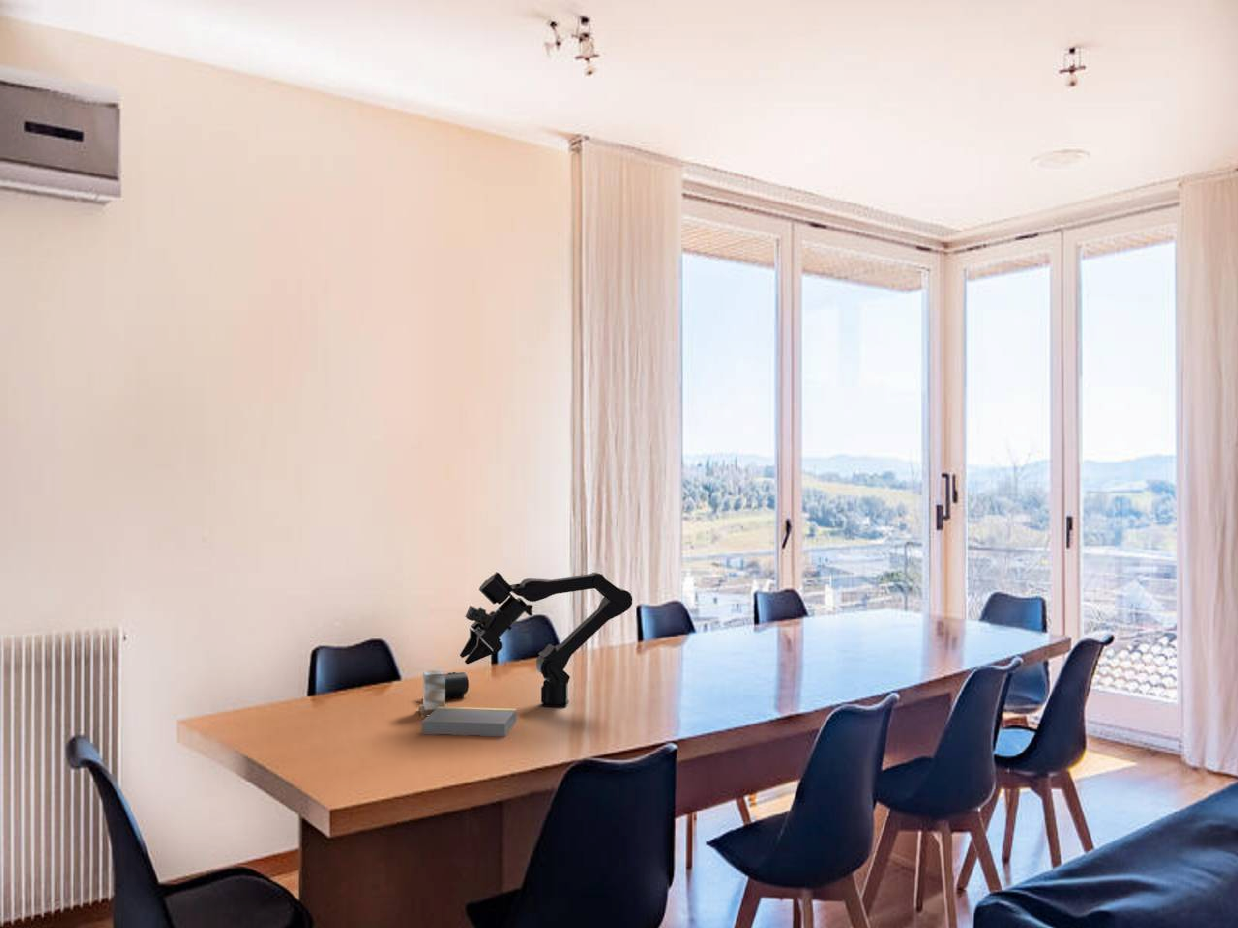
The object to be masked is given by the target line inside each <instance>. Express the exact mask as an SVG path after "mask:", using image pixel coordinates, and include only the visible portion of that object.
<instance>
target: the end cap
mask: <svg viewBox="0 0 1238 928" xmlns="http://www.w3.org/2000/svg"><path fill="white" fill-rule="evenodd" d="M469 689H470V681H469V677H468V675H467V673H466V672H464V671H463V672H457V671H453V672H451V671H449V672H447V673H445V700H446V699H453V697H454V698H460V696H461V697H464V696H465V695H466V694H468V692H469Z"/></svg>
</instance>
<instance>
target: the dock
mask: <svg viewBox="0 0 1238 928" xmlns="http://www.w3.org/2000/svg"><path fill="white" fill-rule="evenodd" d="M516 722H517V708H500V707H499V708H498V707H494V708H493V707H466V706H465V707H464V706H462V707H461V706H448V707H438V708H437V709H436V710H435V711H434V712H432V713H431V714H430V715H429V716H428V717H424V719H423V720H422V721H421V734H422V733H424V734H423V735H437V734H452V735H451V736H468V735H480V736H479V737H500V738H501V737H502V738H503V737H504V738H505V737H506V735H507V734H508V733H509V732H510V730H511V727H512V728H513V726H514V725H515V724H516Z"/></svg>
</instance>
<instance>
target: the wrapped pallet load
mask: <svg viewBox="0 0 1238 928" xmlns="http://www.w3.org/2000/svg"><path fill="white" fill-rule="evenodd" d="M422 673H423V674H422V675H423V678H422V679H423V681H422V688H423V689H422V693H423V695H422V703H421V704H418V712H419V711H420V712H419V714H420V713H421V714H420V716H427V715H430V714H431V713H432V712H434V711H435V710H436V709H437V708H438V707H449V706H448V705H447V702H446V701H445V700H446V699H445V674H446V672H445V671H444V670H443V669H434V670H432V669H431V670H423V672H422Z"/></svg>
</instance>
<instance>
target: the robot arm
mask: <svg viewBox="0 0 1238 928" xmlns="http://www.w3.org/2000/svg"><path fill="white" fill-rule="evenodd" d="M591 589H595V591H597V592H598V593H599V594H600V595H602V596H603V597H602V599H601V601H600V603H599V604H598V607H597V608H596V609H595V610H594V611H593V612H592V613H591V614H590V615H589V616H588V617H587V618H586V619H585V620H584V621H583V622H582V623H580V624H579V625H578V626H577V627H576V628H575V629H574V630H573V631H572V632H571V633H570V634H569V635H567V636H566V637H565V638H564V640H563V641H561V642H560V643H558V644H556V645H555V646H554V645H553V644H551V643H549V644H548V645H546V647H545V648H544V649H543V650H542V651H540V652H538V656H537V658H536V660H535V668H536V669H537V671H538V672H539V673H540V674H541V675H542V677H543V679H544V680H543V681H542V683H543V685H542V686H541V688H540V703H541V706H542V707H556V708H557V707H559V708H560V707H563V708H566V707H567V705H568V704H569V699H568V695H569V694H568V692H569V690H568V688H569V687H568V685H569V681H570V679H571V676H570V675H569V674H568V673H567V672H566V671H565V670H564V669H565V667H566V666H567V664H568V662H569V660H570V659H571V657H572V655H574V653H575V652H577V650H579V649H580V648H581V647H582V646H583V645H584V644H586V642H587V641H588V640H589V639H590V638H591V637H592V636H594V634H596V633H597V632H598V631H599V630H600V629H601V628H602V627H603V626H604V625H605V624H607V622H608V621H610V620H612V619H614V618H616V617H618V616H620V615H622V614H623V613H625V612H626V611H628V610H629V609H630V608H631V607H632V605H633V596H632V594H631V593H630V592H629V591H628V590H625V589H622V588H620V587H618V586H616V585H615V584H614V583H613V582H610V581H609V580H608V579H607V578H605V576H604V575H603V574H601V573H598V572H592V573H590V574H589V573H588V574H581V575H576V576H567V577H561V578H553V579H548V578H535V577H534V578H533V577H532V578H531V577H529V578H524V579H522V580H521V582H519V583H513V584H509V583H508V582H507V580H505V578H503V576H502V575H501V573H500V572H495V573H494V574H492V576H490V577H488V579H485V580H484V581H483V583H481V585H480V586H479V588H478V591H479V592H480V593H481V594H482V595H483V596H484V597H485V598H487V600H488V601H490V603H492V605H496V604H498V605H500V606H499V607H498V608H497V609H496V610H492V611H490V612H489V613H487V609H485V608H482V607H478V608H477V607H474V606H472V605H470V606H469V608H468V610H467V612H466V614H465V615H464V616H465V618H466V619H467V620H470V621H472V622H473V621H474V622H473V623H472V624H471V625H470V628H469V639H468V641H467V642H466V644H465V645H464V647H463V648H462V650H461V653H460V654H459V656H460V658H462V659H463V658H465V657H466V659H465V660H464V663H465V664H466V665H470V664H474V663H475V662H478V661H480V660H482V659H484V658H486V657H489V656H492V655H495V654H498V653H499V652H500V651H501V650H502V649H503V642H502V641H501V637H502V636H503V635H504V634H505V633H506V632H507V631H511V629H512V626H513V625H514V624H515V622H516V621H517V620H518V619H520V617H521V616H522V615H523V614H524V613H526V614H527V615H528V616H530V617H532V616H533V605H532V604H527V603H526V602H525V601H528V602H531V603H535V602H538V601H541V600H545V599H548V598H549V597H552V596H554V595H558V594H564V593H572V592H577V591H586V590H591ZM512 594H514V595H515V596H519V597H518V598H516V597H514V596H513V595H512ZM523 599H524V600H525V601H524V600H523Z"/></svg>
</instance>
